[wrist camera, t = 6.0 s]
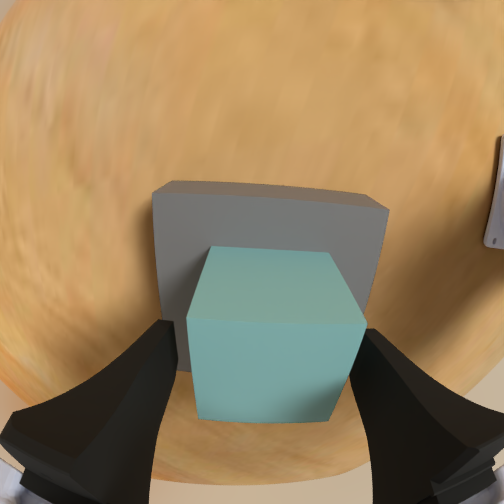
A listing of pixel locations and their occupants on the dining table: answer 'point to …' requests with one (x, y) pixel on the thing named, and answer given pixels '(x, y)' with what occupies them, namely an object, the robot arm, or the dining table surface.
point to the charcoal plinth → (258, 235)
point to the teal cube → (271, 336)
